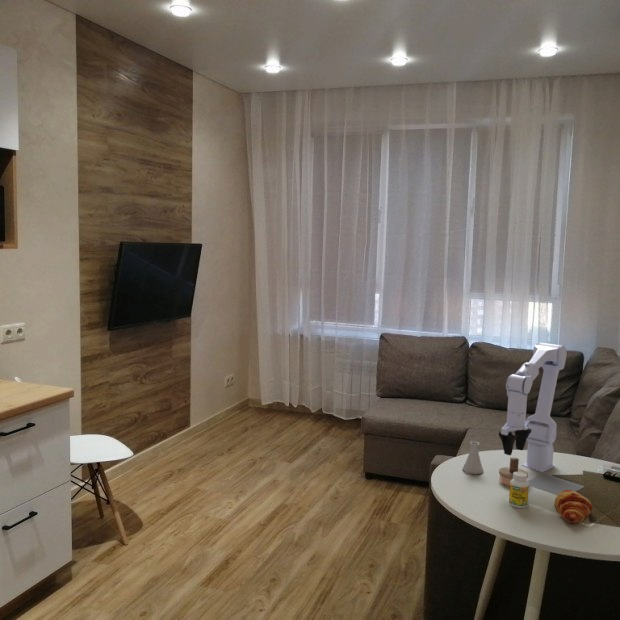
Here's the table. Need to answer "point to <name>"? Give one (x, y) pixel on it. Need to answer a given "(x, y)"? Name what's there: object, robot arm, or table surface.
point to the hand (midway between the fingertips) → (513, 451)
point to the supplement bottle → (519, 490)
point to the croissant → (572, 506)
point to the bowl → (505, 480)
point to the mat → (553, 484)
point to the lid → (511, 469)
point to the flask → (473, 460)
